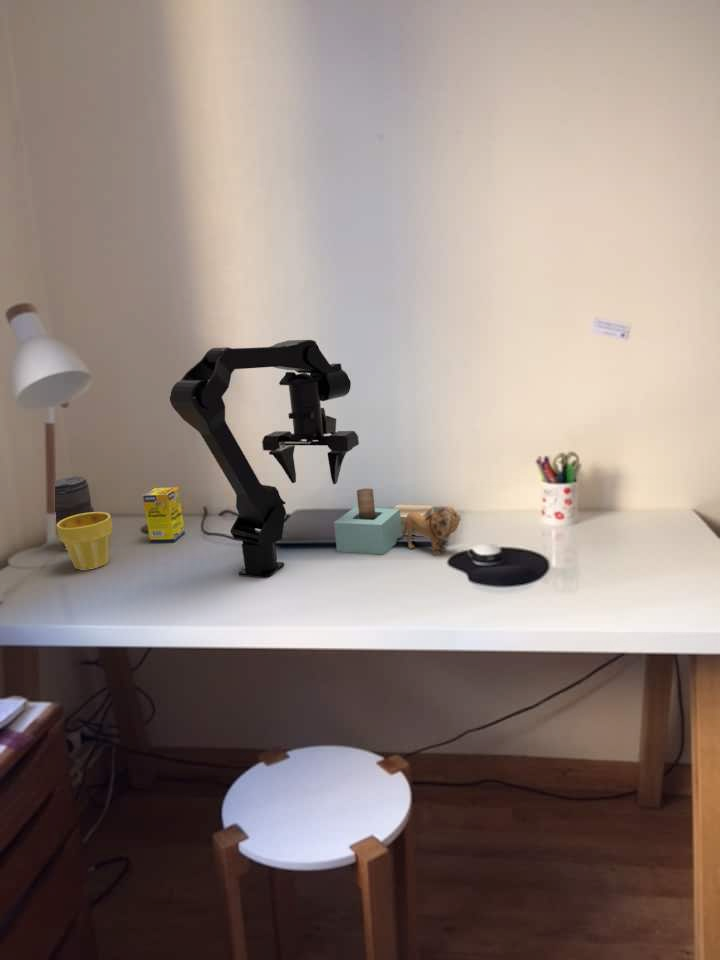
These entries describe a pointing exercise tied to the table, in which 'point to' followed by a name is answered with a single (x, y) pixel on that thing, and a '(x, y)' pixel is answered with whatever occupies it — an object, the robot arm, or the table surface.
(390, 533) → the socket block
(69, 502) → the camera lens
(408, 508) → the pedestal
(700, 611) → the table surface
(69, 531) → the plant pot
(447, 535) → the lion figurine
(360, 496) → the pin
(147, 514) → the supplement box
